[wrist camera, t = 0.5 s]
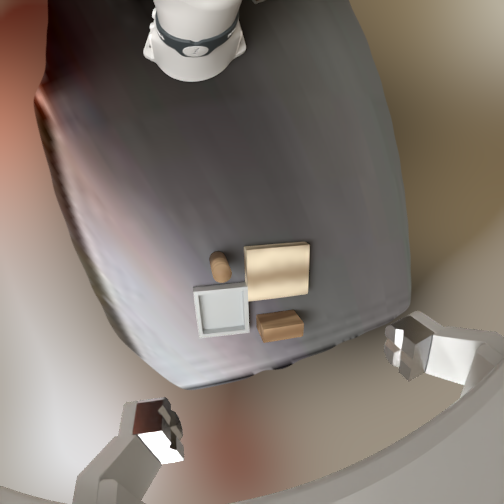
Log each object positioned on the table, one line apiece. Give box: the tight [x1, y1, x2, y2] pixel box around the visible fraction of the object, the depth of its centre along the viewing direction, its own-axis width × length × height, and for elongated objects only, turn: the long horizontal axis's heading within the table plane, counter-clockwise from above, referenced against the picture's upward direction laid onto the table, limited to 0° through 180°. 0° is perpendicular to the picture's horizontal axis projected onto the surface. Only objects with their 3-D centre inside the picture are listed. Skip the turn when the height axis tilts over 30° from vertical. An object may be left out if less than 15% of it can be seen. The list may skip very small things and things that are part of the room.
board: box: [244, 242, 310, 301], centre depth 54 cm, size 10×12×3 cm
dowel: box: [209, 251, 232, 283], centre depth 48 cm, size 3×3×8 cm
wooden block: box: [256, 310, 304, 343], centre depth 55 cm, size 3×8×6 cm, turn 92°
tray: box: [193, 282, 249, 338], centre depth 53 cm, size 10×10×2 cm
